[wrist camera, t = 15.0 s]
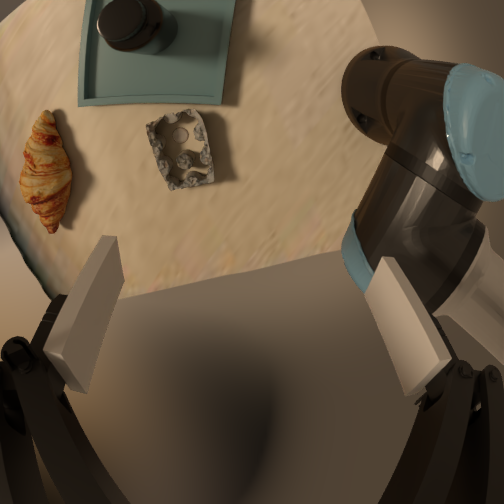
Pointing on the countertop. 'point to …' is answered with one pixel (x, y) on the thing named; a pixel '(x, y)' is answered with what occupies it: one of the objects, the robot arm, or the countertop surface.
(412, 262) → the robot arm
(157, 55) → the tray
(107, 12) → the supplement bottle
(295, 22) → the countertop surface
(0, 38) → the countertop surface
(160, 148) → the egg carton
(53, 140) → the croissant
